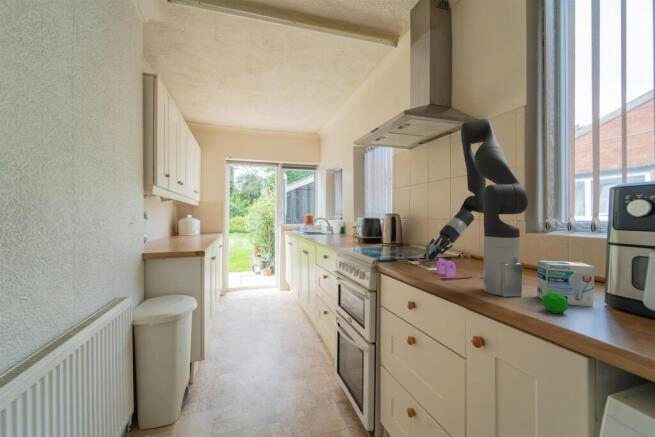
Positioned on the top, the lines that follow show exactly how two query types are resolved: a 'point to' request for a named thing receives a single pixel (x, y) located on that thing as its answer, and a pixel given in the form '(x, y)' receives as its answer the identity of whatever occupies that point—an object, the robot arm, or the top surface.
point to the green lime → (555, 302)
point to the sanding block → (427, 261)
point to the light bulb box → (567, 281)
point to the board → (421, 265)
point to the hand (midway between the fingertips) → (427, 258)
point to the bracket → (448, 269)
